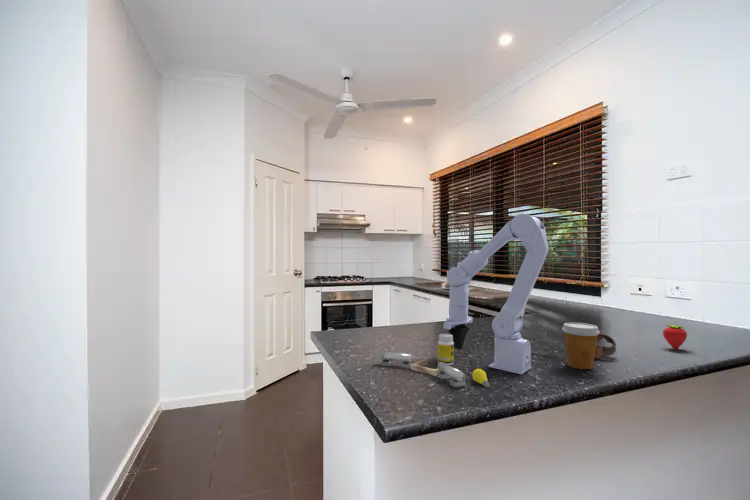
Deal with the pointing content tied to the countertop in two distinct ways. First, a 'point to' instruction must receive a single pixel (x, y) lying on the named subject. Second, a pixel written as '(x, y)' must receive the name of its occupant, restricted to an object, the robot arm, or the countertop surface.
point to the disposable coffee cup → (580, 344)
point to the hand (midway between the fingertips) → (458, 348)
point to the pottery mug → (605, 350)
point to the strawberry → (675, 335)
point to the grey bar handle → (396, 359)
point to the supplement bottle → (446, 349)
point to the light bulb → (480, 377)
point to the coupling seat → (424, 368)
